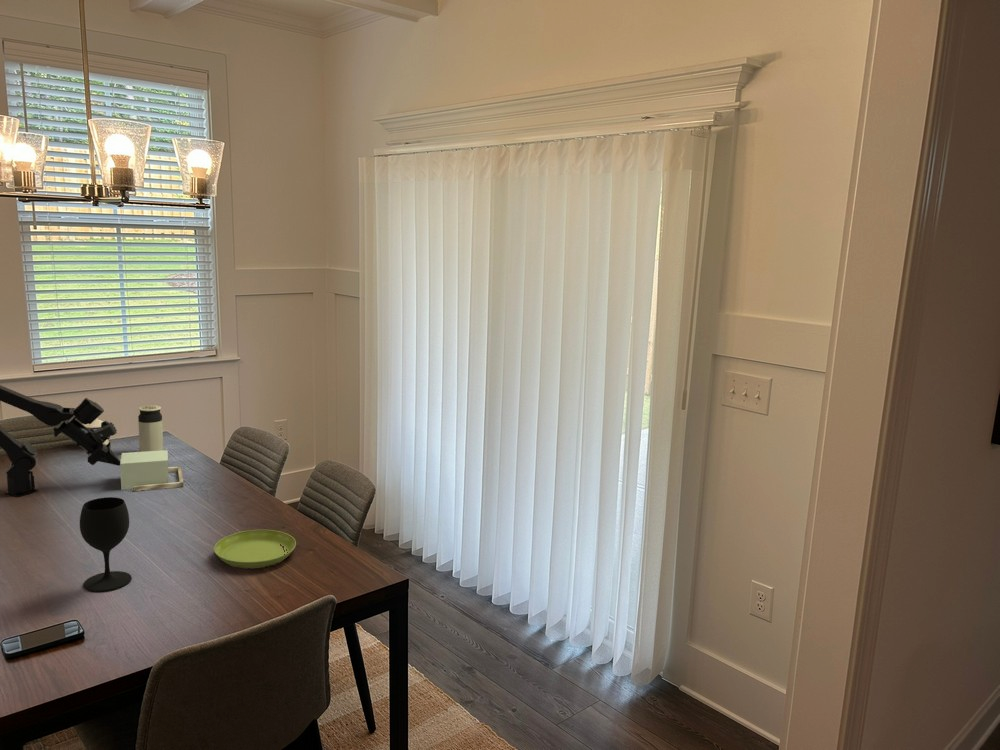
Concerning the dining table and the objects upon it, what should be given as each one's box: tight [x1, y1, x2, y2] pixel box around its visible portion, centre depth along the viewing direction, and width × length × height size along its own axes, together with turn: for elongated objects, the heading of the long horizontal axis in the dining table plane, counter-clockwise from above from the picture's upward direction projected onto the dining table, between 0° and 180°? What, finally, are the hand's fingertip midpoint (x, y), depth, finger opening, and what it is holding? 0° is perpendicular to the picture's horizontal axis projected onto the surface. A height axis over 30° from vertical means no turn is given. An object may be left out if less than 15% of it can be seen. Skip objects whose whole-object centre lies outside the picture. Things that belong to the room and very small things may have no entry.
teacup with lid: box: [82, 417, 110, 445], centre depth 278 cm, size 12×9×12 cm
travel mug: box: [137, 404, 164, 452], centre depth 273 cm, size 8×8×18 cm
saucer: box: [213, 529, 297, 569], centre depth 196 cm, size 21×21×3 cm
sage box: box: [119, 449, 170, 491], centre depth 245 cm, size 14×12×9 cm
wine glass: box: [79, 496, 133, 593], centre depth 175 cm, size 10×10×20 cm
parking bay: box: [133, 465, 184, 492], centre depth 248 cm, size 14×18×2 cm
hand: (120, 464), depth 242 cm, fingers closed
